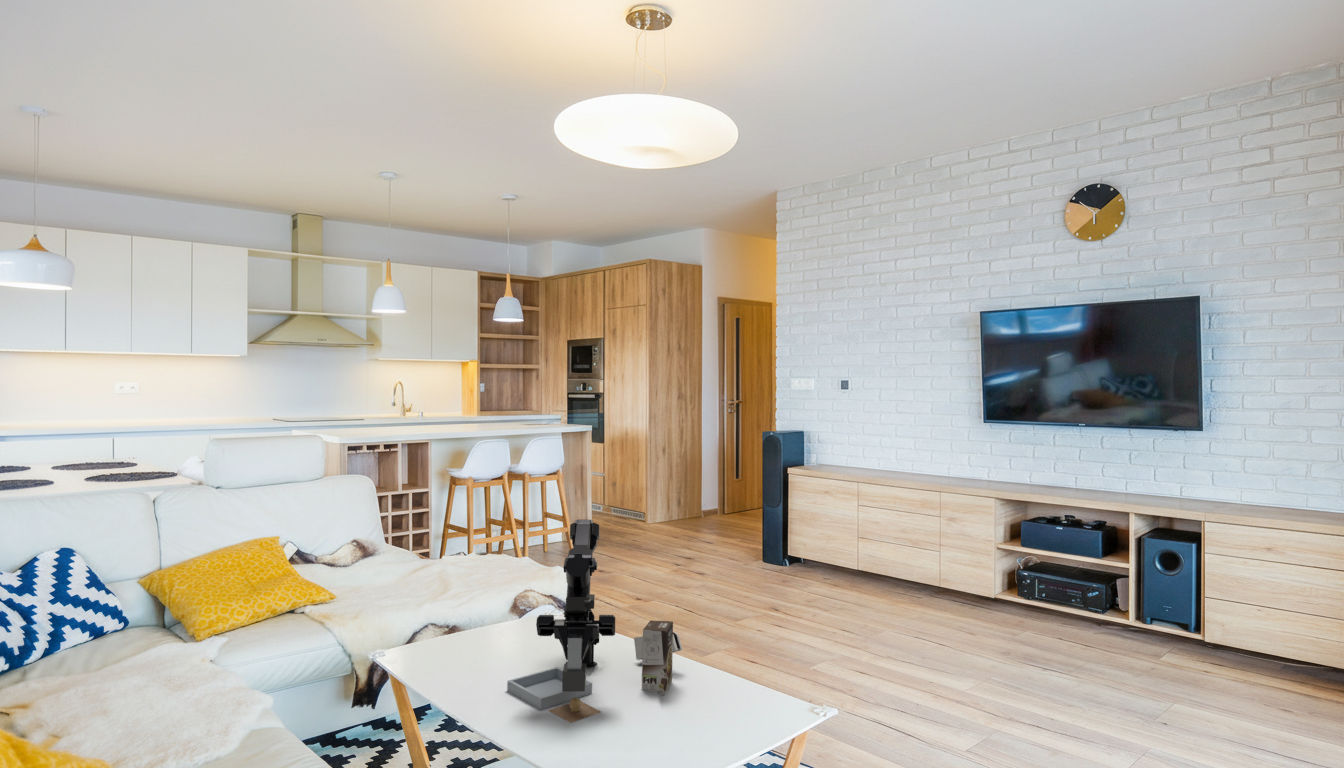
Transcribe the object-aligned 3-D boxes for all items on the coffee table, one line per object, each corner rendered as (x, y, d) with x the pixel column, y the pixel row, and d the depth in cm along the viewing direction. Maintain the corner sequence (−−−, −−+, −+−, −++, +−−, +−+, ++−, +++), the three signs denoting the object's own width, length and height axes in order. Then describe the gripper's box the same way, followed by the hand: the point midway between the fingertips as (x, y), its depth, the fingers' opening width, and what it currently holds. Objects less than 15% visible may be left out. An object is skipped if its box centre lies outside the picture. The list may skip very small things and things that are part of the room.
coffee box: (665, 695, 193) (666, 631, 193) (640, 693, 194) (641, 629, 195) (673, 682, 202) (674, 620, 202) (649, 680, 203) (650, 619, 204)
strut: (564, 683, 183) (564, 632, 183) (585, 682, 184) (586, 632, 184) (562, 691, 178) (563, 639, 178) (584, 691, 178) (585, 639, 179)
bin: (557, 680, 202) (557, 666, 202) (591, 697, 191) (592, 683, 191) (507, 694, 192) (507, 680, 192) (540, 713, 181) (541, 698, 181)
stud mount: (579, 704, 187) (579, 687, 187) (601, 716, 180) (602, 698, 180) (547, 714, 181) (548, 697, 181) (570, 727, 174) (570, 708, 174)
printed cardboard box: (636, 674, 213) (676, 665, 204) (632, 637, 217) (671, 626, 208) (646, 673, 216) (686, 664, 207) (642, 636, 220) (681, 626, 211)
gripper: (537, 581, 184) (531, 642, 173) (615, 581, 186) (614, 642, 174) (540, 605, 192) (534, 665, 181) (615, 605, 193) (614, 664, 182)
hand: (574, 659), depth 180 cm, fingers closed on strut, 3 cm apart
